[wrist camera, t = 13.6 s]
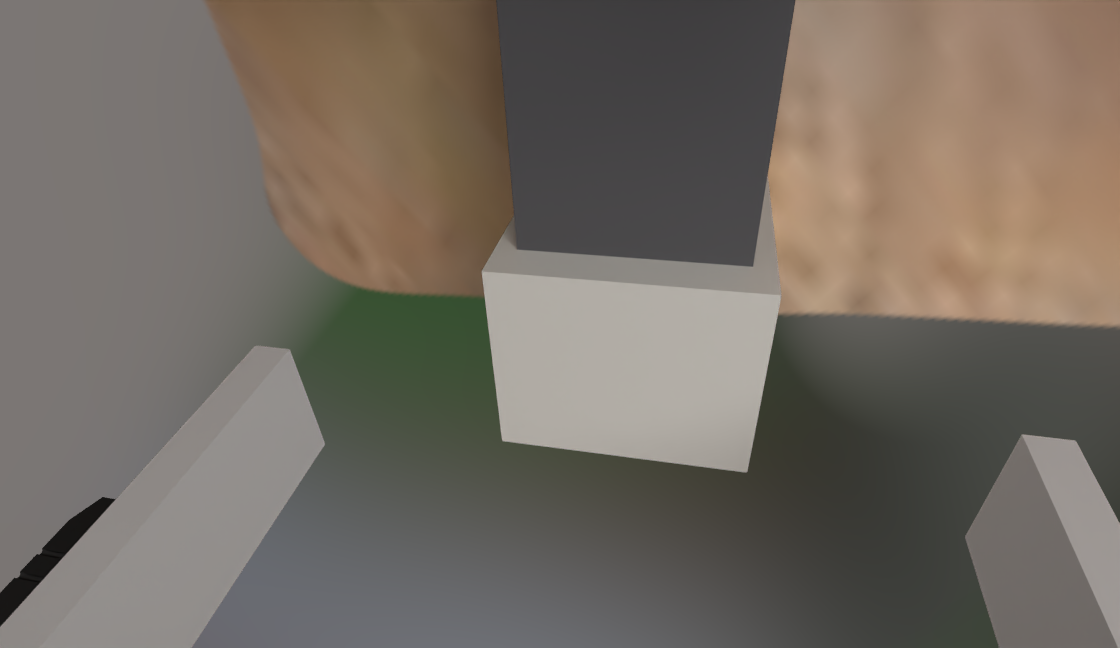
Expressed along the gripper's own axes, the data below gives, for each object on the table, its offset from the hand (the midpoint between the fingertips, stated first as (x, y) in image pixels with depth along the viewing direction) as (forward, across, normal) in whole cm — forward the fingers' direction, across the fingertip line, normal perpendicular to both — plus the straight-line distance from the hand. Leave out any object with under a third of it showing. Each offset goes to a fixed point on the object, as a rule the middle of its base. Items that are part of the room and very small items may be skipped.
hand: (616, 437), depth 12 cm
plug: (+10, 0, +2) cm, 11 cm away
